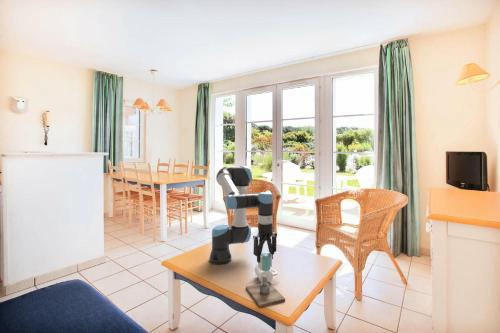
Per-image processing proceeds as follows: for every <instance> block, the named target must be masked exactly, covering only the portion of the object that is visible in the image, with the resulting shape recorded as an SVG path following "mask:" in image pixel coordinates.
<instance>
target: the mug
mask: <svg viewBox="0 0 500 333" xmlns="http://www.w3.org/2000/svg"><path fill="white" fill-rule="evenodd" d="M254 273H255V276H257V278H258V280H259V282H260V283H262V281H263V276H267V282H270V283H271V282H272V281H273V278H274V277H276V276H277V275H278V270H276V269H273V268H270V270H268V271H262V270H260V269H259V268H258V264H256V265H255V268H254Z"/></svg>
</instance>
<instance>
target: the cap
mask: <svg viewBox="0 0 500 333" xmlns="http://www.w3.org/2000/svg"><path fill="white" fill-rule="evenodd" d="M268 253H269V252H267V253H266V252H263V253H261V256H262V269H260V270H262V271H268V270H270V269H272V267H271V257H270V254H268Z"/></svg>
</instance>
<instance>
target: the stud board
mask: <svg viewBox="0 0 500 333" xmlns="http://www.w3.org/2000/svg"><path fill="white" fill-rule="evenodd" d="M245 289H246V291H247V292H248V294H249V295H250V297H252V299H253V301H254V302H255V303H256V305H257V306H258V308H263V307H266V306H271V305H275V304H278V303H283V302H286V297H284V296H283V295H282V293H280V292H279V290H278V289H277V288H275V286H274V285H273V284H272V283H271V282H267V276H263V281H262V283H261V282H260V283H257V284H250V285H247V286H245Z"/></svg>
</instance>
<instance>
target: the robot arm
mask: <svg viewBox="0 0 500 333" xmlns="http://www.w3.org/2000/svg"><path fill="white" fill-rule="evenodd" d="M252 180H253V174H252V170H251V169H250V167H249V166H246V165H233V166H232V165H231V166H230V165H228V166H224V167H221V169H220V170H219V171H218V172H217V174H216V182H217V184H218V185H219V186H221V189H222V191H223V194H224V195H225V198H224V205H225V208H226V209H227V210H233V222H232V223H231V226H229V224H219V225H216V226H214V227H213V228H212V231H211V250H210V254H209V259H208V260H209V262H210V263H211V264H213V265H226V264H228V263H230V262H231V261H232V253H231V251H230V245H235V244H244V243H248V242H249V241H250V239H251V236H252V229H251V225H249V223H248V222H247V209H255V208H256V209H257V222H258V223H257V231H258V232H257V234H256V235H253V236H252V238H253V255H254V256H255V257H256V262H257V265H258V268H259V269H262V256H261V254H262V252H263V248H264V244H265V242H266V244H267V248H268V252H267V253H268V254H270V257H271V268H272V267H273V260H274V255H275V253H276V252H277V237H278V233H277V232H274V231H273V230H274V228H273V227H274V226H273V225H274V224H273V221H274V216H273V214H274V210H273V209H274V196H273V193H272V192H267V191H262V192H253V193H250V194H249V193H248V192H247V191H248V188H249V186H250V183H252Z"/></svg>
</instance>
